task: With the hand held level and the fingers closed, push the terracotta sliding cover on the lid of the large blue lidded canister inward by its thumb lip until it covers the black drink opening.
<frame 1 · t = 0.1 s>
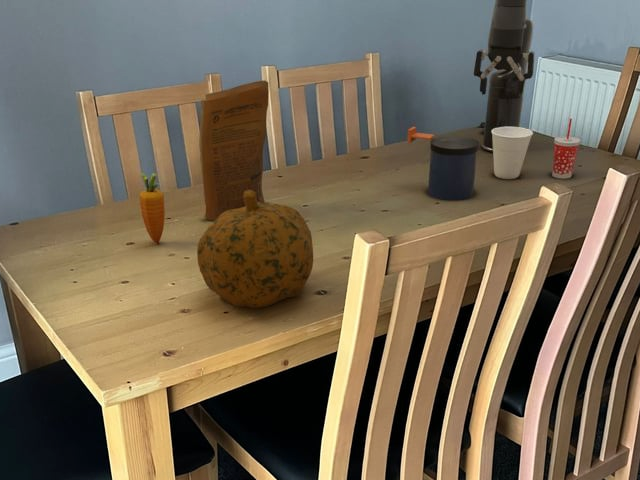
hand: (500, 94, 200), 17 cm above the table, tool pointing down, fingers open, 8 cm apart
decorative pumpkin: (260, 294, 144), on the table
carrot: (157, 244, 166), on the table
pancake mix bag: (238, 213, 180), on the table
blue lidded canister: (450, 192, 189), on the table
slider: (421, 135, 186), point 13 cm above the table, slide at 4.0 cm
beverage cup: (561, 176, 199), on the table
cup: (506, 176, 199), on the table
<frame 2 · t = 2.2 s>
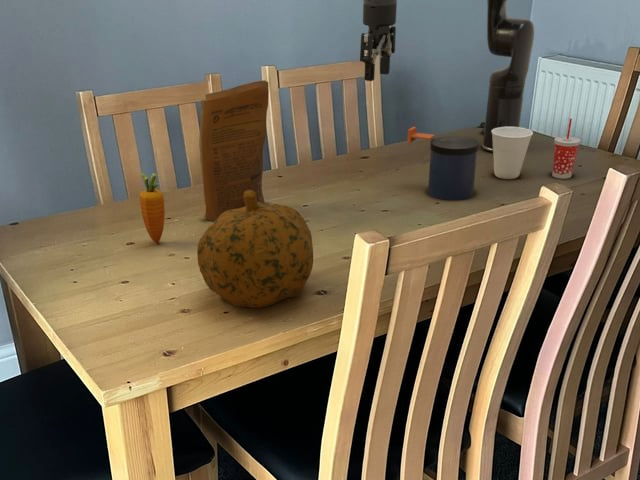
hand: (377, 77, 187), 24 cm above the table, tool pointing down, fingers open, 8 cm apart
nothing on the table moved.
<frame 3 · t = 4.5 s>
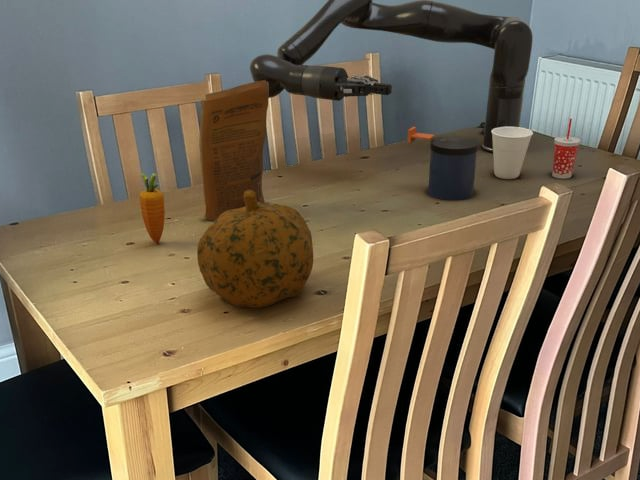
hand: (390, 89, 185), 22 cm above the table, tool horizontal, fingers closed
nothing on the table moved.
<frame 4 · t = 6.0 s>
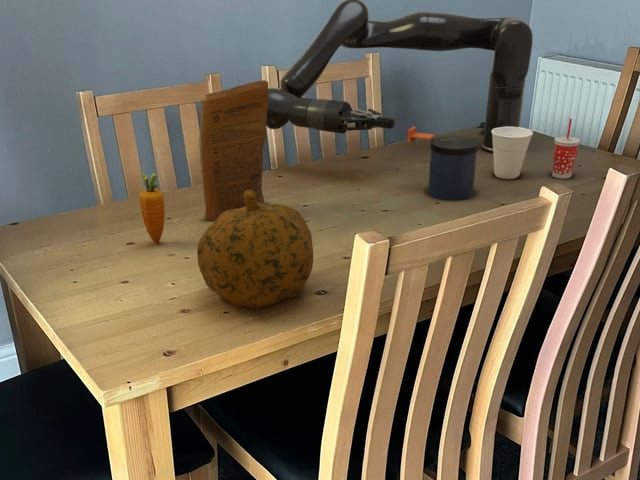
hand: (393, 123, 189), 15 cm above the table, tool horizontal, fingers closed
nothing on the table moved.
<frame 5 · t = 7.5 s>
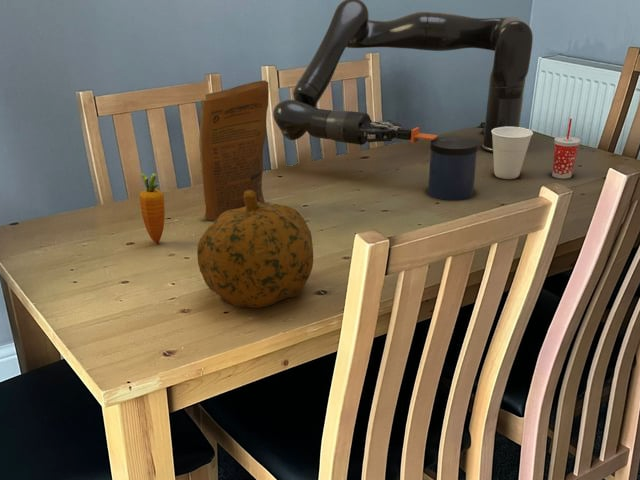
hand: (413, 135, 187), 12 cm above the table, tool horizontal, fingers closed
slider: (424, 136, 186), point 13 cm above the table, slide at 3.2 cm, touching gripper
everything else where it was.
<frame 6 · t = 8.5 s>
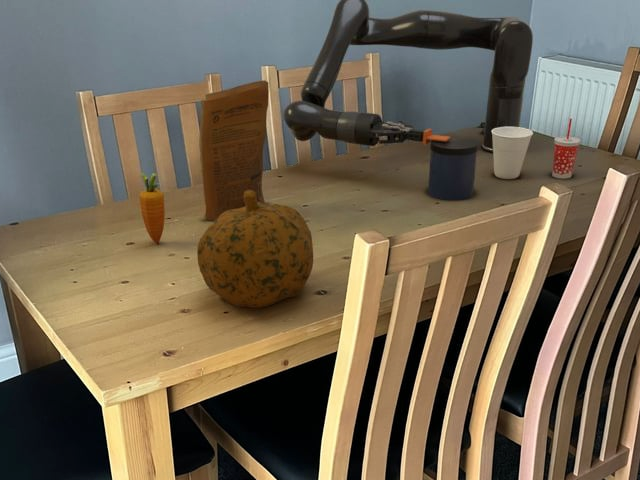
hand: (425, 136, 186), 12 cm above the table, tool horizontal, fingers closed
slider: (436, 137, 185), point 13 cm above the table, slide at 0.1 cm, touching gripper
everything else where it was.
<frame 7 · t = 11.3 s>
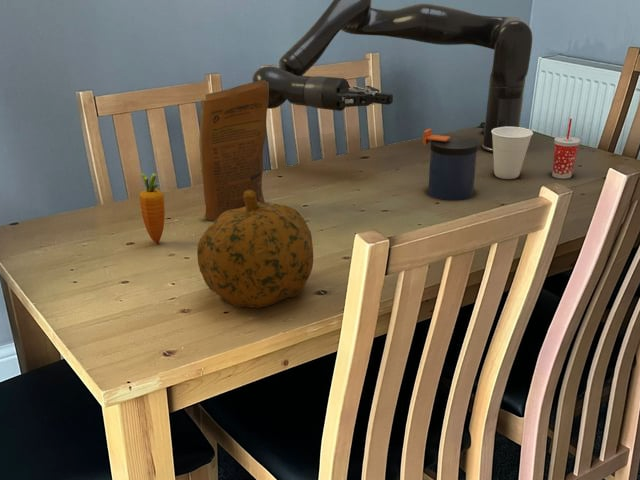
hand: (391, 99, 187), 20 cm above the table, tool horizontal, fingers closed
slider: (436, 137, 185), point 13 cm above the table, slide at 0.1 cm
everything else where it was.
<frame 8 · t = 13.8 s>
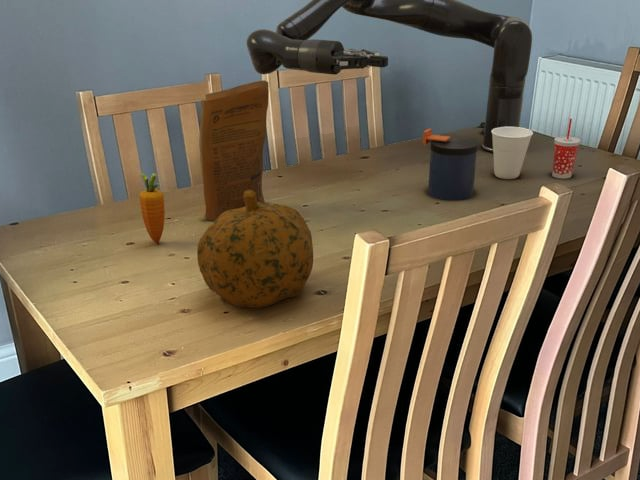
hand: (386, 62, 184), 28 cm above the table, tool horizontal, fingers closed
nothing on the table moved.
at the end: slider slide at 0.1 cm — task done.
